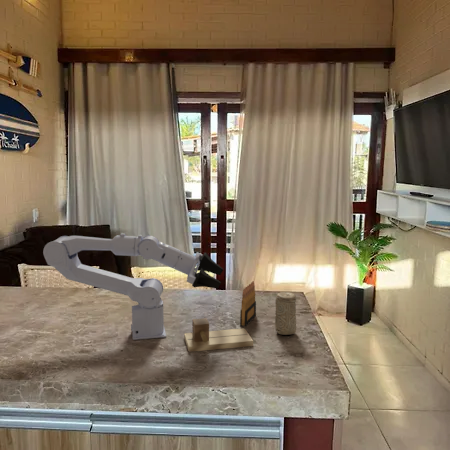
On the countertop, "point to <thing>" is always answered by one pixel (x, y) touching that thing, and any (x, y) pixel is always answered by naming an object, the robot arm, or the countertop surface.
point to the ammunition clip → (248, 305)
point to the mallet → (200, 330)
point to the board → (220, 340)
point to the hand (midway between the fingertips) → (220, 278)
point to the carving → (285, 313)
